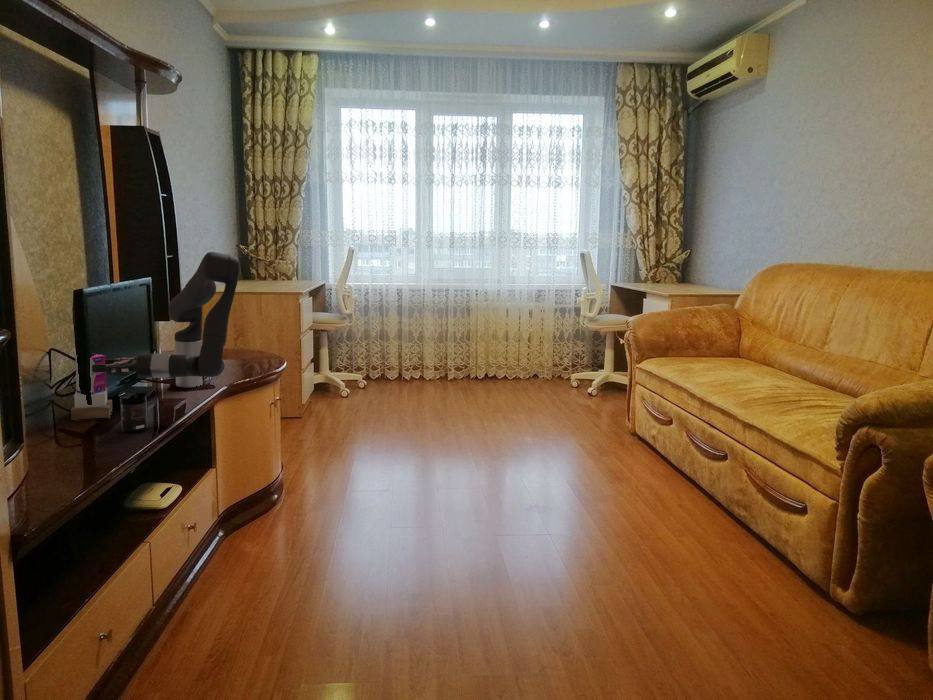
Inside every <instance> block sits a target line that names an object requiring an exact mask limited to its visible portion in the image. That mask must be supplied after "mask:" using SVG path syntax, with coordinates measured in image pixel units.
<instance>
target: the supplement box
mask: <svg viewBox="0 0 933 700" xmlns="http://www.w3.org/2000/svg"><path fill="white" fill-rule="evenodd" d="M95 354H96V355H94V356H92V357H91V358H90V377H91V391H90V392H91V394H94V393H98V392H102V391H106V388H107V385H106V378H107V377H106V376H107V373H106V372H93V371H92V365H105V359H106V355H104V354H99V353H98V354H97V353H95ZM77 356H78V355H75V381H76V382H75V383H76V384H75V385H76V387H75V388H76V390H75V393H76V392H77V393H81V390H80V387H79V374H78V363H77Z"/></svg>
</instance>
